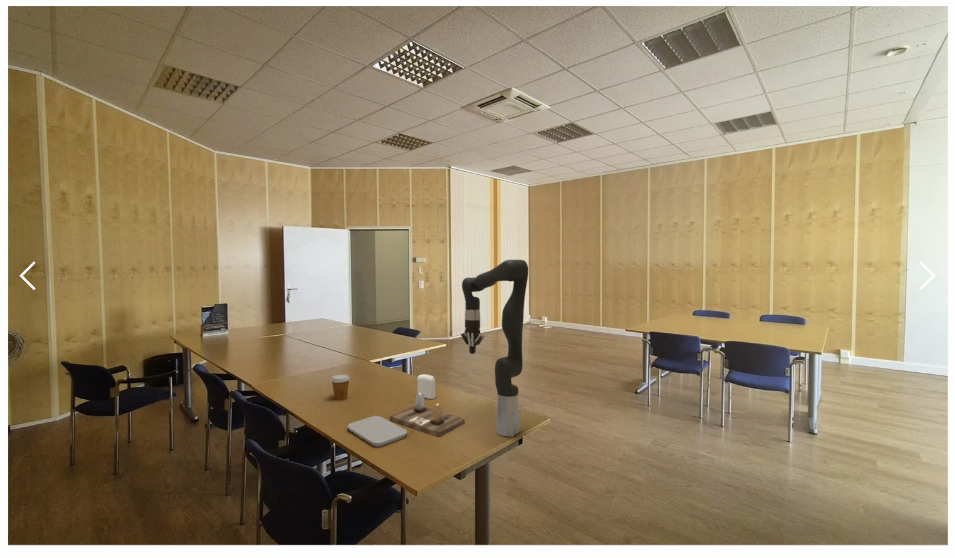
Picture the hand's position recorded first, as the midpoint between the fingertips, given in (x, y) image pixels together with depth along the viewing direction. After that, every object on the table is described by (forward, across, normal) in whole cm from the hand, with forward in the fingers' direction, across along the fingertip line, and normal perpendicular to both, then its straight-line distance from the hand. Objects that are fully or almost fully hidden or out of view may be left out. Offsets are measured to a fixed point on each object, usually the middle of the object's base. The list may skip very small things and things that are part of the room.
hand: (472, 353), depth 198 cm
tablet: (+30, -20, -43) cm, 56 cm away
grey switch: (+27, -18, -18) cm, 37 cm away
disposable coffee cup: (+29, -68, -26) cm, 78 cm away
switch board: (+29, -10, -22) cm, 38 cm away
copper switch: (+27, -2, -24) cm, 36 cm away
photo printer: (+29, -32, +2) cm, 43 cm away
